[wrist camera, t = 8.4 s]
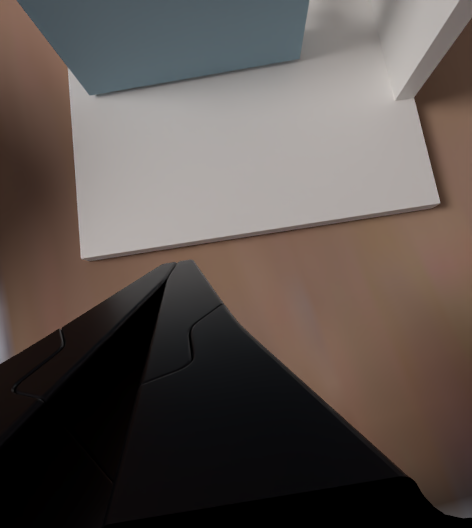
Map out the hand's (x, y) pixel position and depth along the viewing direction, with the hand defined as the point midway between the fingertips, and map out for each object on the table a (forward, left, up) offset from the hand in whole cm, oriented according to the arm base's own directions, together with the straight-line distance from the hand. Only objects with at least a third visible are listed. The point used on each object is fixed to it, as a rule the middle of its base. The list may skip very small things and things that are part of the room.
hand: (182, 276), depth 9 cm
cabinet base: (+13, -5, -12) cm, 18 cm away
